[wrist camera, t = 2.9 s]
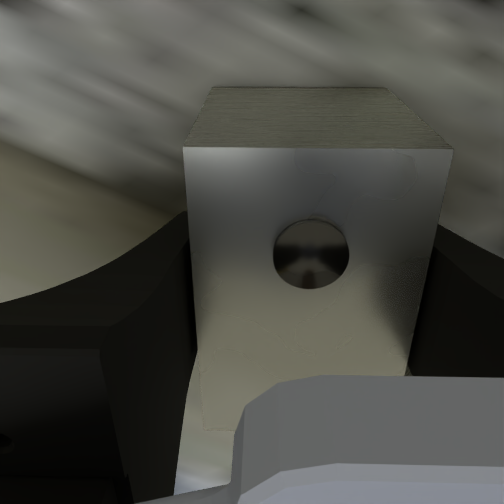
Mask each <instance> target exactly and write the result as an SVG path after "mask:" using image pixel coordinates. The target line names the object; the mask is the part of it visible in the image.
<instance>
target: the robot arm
mask: <svg viewBox="0 0 504 504" xmlns="http://www.w3.org/2000/svg"><path fill="white" fill-rule="evenodd" d="M197 351H198V345H197V331H196V318H195V305H194V291H193V278H192V265H191V251H190V238H189V225H188V212H186V211H184V212H182V213H180V214H179V215H177V216H176V217H175V218H174V219H172V220H171V221H170V222H168V223H167V224H166V225H165V226H163V227H162V228H161V229H159V230H158V231H157V232H155V233H154V234H153V235H151V236H150V237H149V238H147V239H146V240H145V241H143V242H142V243H140V244H139V245H137V246H136V247H134V248H132V249H131V250H129V251H128V252H126V253H125V254H123V255H122V256H120V257H118V258H117V259H115V260H113V261H111V262H110V263H108V264H106V265H104V266H102V267H100V268H98V269H96V270H94V271H92V272H90V273H88V274H85V275H83V276H81V277H78V278H76V279H73V280H71V281H68V282H66V283H63V284H61V285H58V286H56V287H53V288H50V289H47V290H44V291H41V292H38V293H35V294H32V295H28V296H25V297H21V298H18V299H14V300H11V301H7V302H3V303H0V504H504V259H503V258H501V257H499V256H497V255H495V254H492V253H490V252H488V251H486V250H485V249H483V248H481V247H479V246H477V245H475V244H473V243H471V242H469V241H468V240H466V239H464V238H462V237H460V236H459V235H457V234H455V233H453V232H451V231H450V230H448V229H446V228H444V227H443V226H441V225H439V224H438V225H437V229H436V234H435V238H434V243H433V248H432V252H431V257H430V261H429V266H428V270H427V275H426V279H425V284H424V288H423V293H422V298H421V302H420V307H419V311H418V316H417V320H416V325H415V329H414V334H413V339H412V343H411V348H410V352H409V357H408V361H407V365H408V367H409V369H410V372H411V374H412V376H364V375H319V376H313V377H308V378H302V379H296V380H291V381H285V382H280V383H277V384H275V385H274V386H272V387H271V388H270V389H268V390H267V391H265V392H264V393H262V394H261V395H260V396H258V397H257V398H255V399H254V400H252V401H251V402H249V403H248V404H247V405H245V407H244V410H243V412H242V415H241V418H240V421H239V423H238V426H237V429H236V431H235V434H234V446H233V460H232V474H231V482H230V483H229V484H227V485H222V486H217V487H212V488H207V489H203V490H198V491H193V492H188V493H183V494H179V495H174V486H175V478H176V469H177V462H178V454H179V447H180V439H181V431H182V424H183V417H184V410H185V403H186V396H187V391H188V387H189V382H190V378H191V374H192V370H193V366H194V362H195V358H196V355H197ZM173 495H174V496H173Z"/></svg>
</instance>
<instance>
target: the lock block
mask: <svg viewBox="0 0 504 504" xmlns="http://www.w3.org/2000/svg"><path fill="white" fill-rule="evenodd" d="M453 152H454V149H453V148H452V147H451V146H450V145H449V144H448V143H447V142H445V141H444V140H443V139H442V138H441V137H440V136H439V135H438V134H437V133H436V132H434V131H433V130H432V129H431V128H430V127H429V126H428V125H427V124H426V123H424V122H423V121H422V120H421V119H420V118H419V117H418V116H417V115H416V114H415V113H413V112H412V111H411V110H410V109H409V108H408V107H407V106H406V105H405V104H404V103H402V102H401V101H400V100H399V99H398V98H397V97H396V96H395V95H394V94H392V93H391V92H390V91H389V90H388V89H387V88H211V91H210V93H209V95H208V97H207V99H206V101H205V103H204V105H203V107H202V109H201V111H200V113H199V115H198V117H197V119H196V121H195V123H194V125H193V127H192V129H191V131H190V133H189V135H188V137H187V139H186V141H185V143H184V146H183V158H184V171H185V185H186V198H187V211H188V225H189V238H190V251H191V265H192V278H193V291H194V305H195V318H196V331H197V345H198V358H199V371H200V385H201V398H202V411H203V425H204V430H209V431H236V429H237V426H238V423H239V421H240V418H241V415H242V412H243V410H244V407H245V405H247V404H248V403H249V402H251V401H252V400H254V399H255V398H257V397H258V396H260V395H261V394H262V393H264V392H265V391H267V390H268V389H270V388H271V387H272V386H274V385H275V384H277V383H280V382H285V381H291V380H296V379H302V378H308V377H313V376H319V375H364V376H404V375H405V370H406V366H407V361H408V357H409V352H410V348H411V343H412V339H413V334H414V329H415V325H416V320H417V316H418V311H419V307H420V302H421V298H422V293H423V288H424V284H425V279H426V275H427V270H428V266H429V261H430V257H431V252H432V248H433V243H434V238H435V234H436V229H437V225H438V220H439V216H440V211H441V207H442V202H443V197H444V193H445V188H446V184H447V179H448V175H449V170H450V166H451V161H452V156H453Z"/></svg>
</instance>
